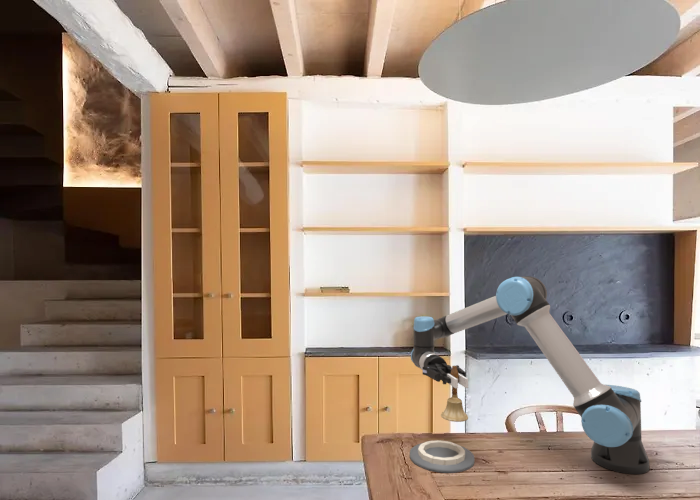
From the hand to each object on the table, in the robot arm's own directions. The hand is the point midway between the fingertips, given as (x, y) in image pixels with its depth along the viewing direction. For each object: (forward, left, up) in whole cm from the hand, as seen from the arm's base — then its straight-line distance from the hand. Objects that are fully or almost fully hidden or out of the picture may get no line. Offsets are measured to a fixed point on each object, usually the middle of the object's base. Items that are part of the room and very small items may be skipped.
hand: (461, 383), depth 130 cm
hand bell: (+3, -5, -12) cm, 13 cm away
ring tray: (+7, -5, -25) cm, 27 cm away
